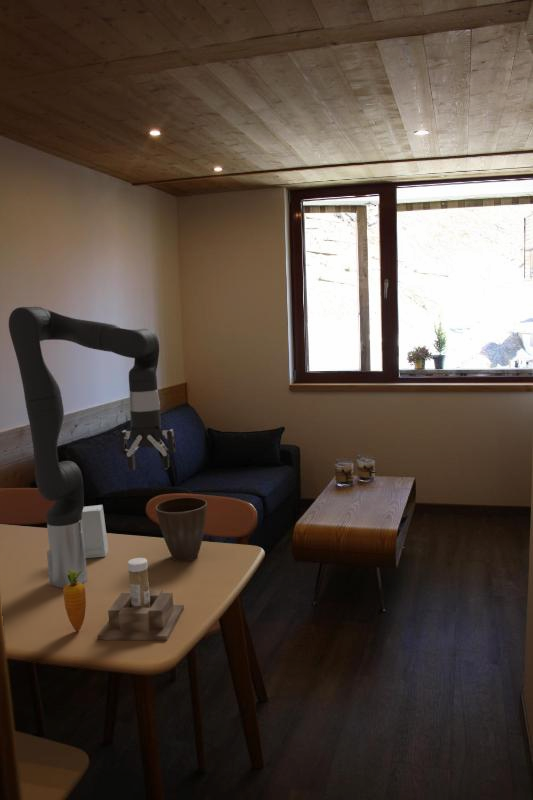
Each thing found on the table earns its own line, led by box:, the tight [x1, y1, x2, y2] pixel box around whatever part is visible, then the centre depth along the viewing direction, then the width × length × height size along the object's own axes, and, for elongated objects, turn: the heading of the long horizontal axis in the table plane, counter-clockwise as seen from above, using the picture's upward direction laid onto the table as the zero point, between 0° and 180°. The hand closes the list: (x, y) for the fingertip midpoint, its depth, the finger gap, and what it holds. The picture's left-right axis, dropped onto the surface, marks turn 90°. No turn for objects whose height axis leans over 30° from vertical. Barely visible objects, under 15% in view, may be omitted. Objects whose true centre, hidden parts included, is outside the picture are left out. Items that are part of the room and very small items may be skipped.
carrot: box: [62, 569, 87, 632], centre depth 161 cm, size 5×5×15 cm
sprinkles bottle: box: [127, 557, 150, 608], centre depth 163 cm, size 5×5×14 cm
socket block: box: [97, 589, 185, 641], centre depth 163 cm, size 16×16×6 cm
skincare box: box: [82, 504, 109, 559], centre depth 211 cm, size 8×6×15 cm
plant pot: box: [155, 497, 208, 562], centre depth 205 cm, size 15×15×16 cm
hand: (149, 469), depth 180 cm, fingers open, 8 cm apart
